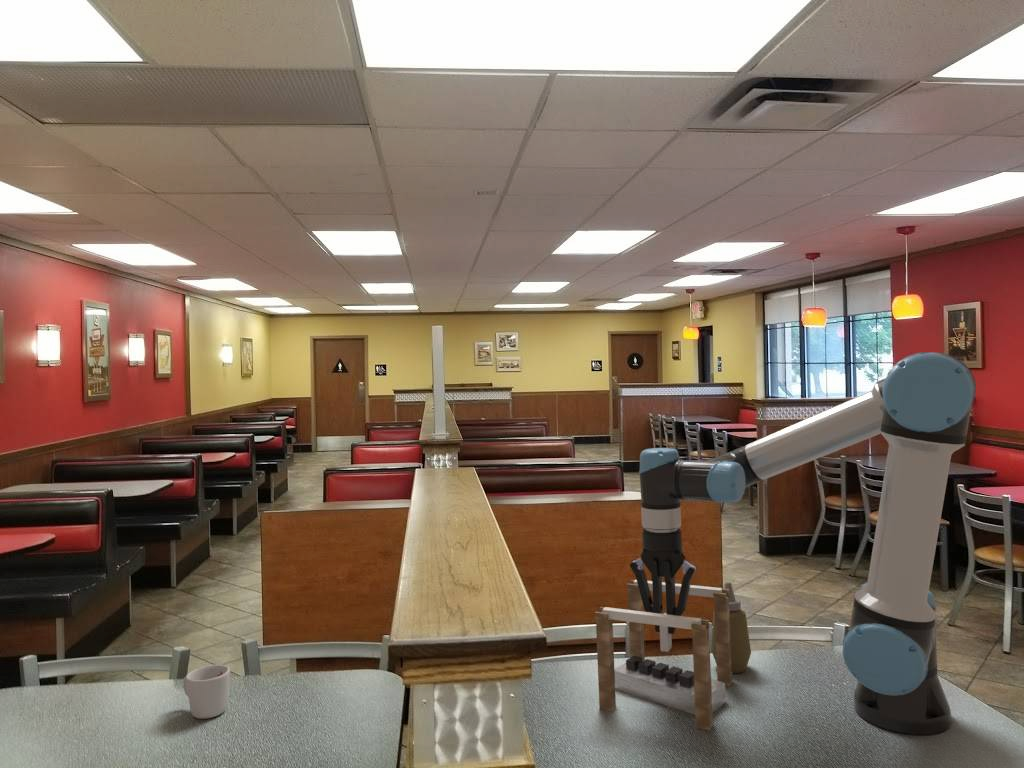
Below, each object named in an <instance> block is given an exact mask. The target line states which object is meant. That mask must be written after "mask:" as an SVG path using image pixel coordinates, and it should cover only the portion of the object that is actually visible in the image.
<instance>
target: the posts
mask: <svg viewBox="0 0 1024 768" xmlns="http://www.w3.org/2000/svg"><path fill="white" fill-rule="evenodd" d="M635 580H636V579H631V580H630V583H626V590H627V610H634V611H642V612H644V606H643V602H642V598H641V594H640V591H639V587H638V584H633V581H635ZM713 595H714V598H713V602H714V604H713V605H714V610H715V633H716V658H717V665H716V678H717V679H716V681H720V682H723V683H725V686H731V684H732V682H733V675H732V674H733V673H732V667H731V642H730V616H729V589H724V588H722V593H717V592H714V593H713ZM605 607H606V606H605ZM605 607H604V606H600V607H599V611H595V612H594V620H595V630H596V631H595V632H596V652H597V653H596V654H597V655H596V656H597V657H596V658H597V678H598V681H597V682H598V704H599V705H598V707H599V710H601V711H605V712H606V711H607V712H613V711H614V710H615V708H616V706H617V703H616V702H617V701H616V689H615V671H614V669H615V653H614V651H615V650H614V649H615V648H614V647H615V646H614V629H613V627H614V626H613V625H614V624H613V619H608V613H603V612H602V610H603V609H604V608H605ZM700 619H701V625H700V624H691V629H690V630H691V634H692V637H691V638H692V659H693V660H692V661H693V672H694V689H695V728H696V729H701V730H705V731H711V730H712V727H713V724H714V723H713V713H712V694H711V679H712V675H711V674H712V672H711V670H712V669H711V651H710V650H711V643H710V619H704V618H703V619H702V618H700ZM644 631H645V629H644V623H636V622H628V634H629V637H628V638H629V656H630V657H629V658H631V657H632V656H634V655H635V656H638V657H642V658H643V660H646V658H645V657H646V656H645V633H644Z"/></svg>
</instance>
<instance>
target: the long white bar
mask: <svg viewBox="0 0 1024 768" xmlns="http://www.w3.org/2000/svg"><path fill="white" fill-rule="evenodd" d="M602 612H603V613H608V619H612V621H613V620H614V621H622V622H628V623H629V622H636V623H643V625H644V624H646V625H653V626H655V625H660V626H667V627H675V628H676V629H683V630H684V629H685V630H691V624H700V625H701V619H702V618H701V617H699V618H698V617H691V616H682V615H681V616H675V615H667V614H663V613H662V614H659V613H650V612H646V611H643V612H642V611H634V610H628V609H623V608H617V607H616V608H615V607H607V606H605V608H604V609H603V610H602Z"/></svg>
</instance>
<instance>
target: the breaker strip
mask: <svg viewBox="0 0 1024 768" xmlns="http://www.w3.org/2000/svg"><path fill="white" fill-rule="evenodd" d="M614 671H615V690H618V691H621V692H625V693H628V694H630V695H633V696H637V697H640V698H641V699H646V700H649V701H652V702H654V703H656V704H657V703H658V704H661V705H663V706H664V705H665V706H667V707H669V708H673V709H676V710H679V711H682V712H685V713H688V714H691V715H695V689H694V671H691V670H685V671H684V670H683V668H681V667H677V666H675V665H674V666H671V667H670V666H669V664H666V663H662V662H658V663H656V661H655V660H652V659H649V658H645V660H643V658H642V657H638V656H635V655H634V656H632V657H631V658H630V657H629V658H627V659H626V660H625V662H624V663H623V664H621V665H620V666H617V668H614ZM711 694H712V714H713V713H714V712H715V711H717V710H719V708H721V706H723V705H724V704H726V702H727V701H726V700H727V699H726V685H725V683H723V682H720V681H717V679H716V680H715V679H713V678H711ZM695 716H696V715H695Z"/></svg>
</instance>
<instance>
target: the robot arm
mask: <svg viewBox="0 0 1024 768" xmlns="http://www.w3.org/2000/svg"><path fill="white" fill-rule="evenodd" d="M976 390H977V385H976V380H975V377H974V375H973V373H972V371H971V369H970V368H969V367H968V366H967V365H966V364H965V363H964V362H963V361H961V360H960V359H958V358H957V357H954V356H953V355H949V354H945V353H941V352H940V353H939V352H935V351H932V352H928V351H927V352H916V353H914V354H911V355H907V356H906V357H904V358H902V359H901V360H899V361H897V363H896V364H895V365H893V366H892V368H891V369H890V371H889V372H888V373H887V375H886V377H885V378H883V379H881V380H879V381H876V382H875V383H874V385H873V388H872V390H869V391H867V392H865V393H863V394H860V395H858V396H855V397H853V398H850V399H848V400H847V401H845V402H842V403H839V404H838V405H835V406H833V407H831V408H828V409H826V410H824V411H822V412H819V413H817V414H814V415H812V416H810V417H808V418H805V419H802V420H800V421H799V422H796V423H794V424H792V425H789V426H787V427H785V428H782V429H780V430H778V431H775V432H773V433H770V434H769V435H766V436H764V437H761V438H759V439H757V440H755V441H752V442H750V443H748V444H746V445H744V446H740V447H738V448H736V449H733V450H732V451H729V452H727V453H724V454H722V455H719V456H716V457H714V458H710V459H708V460H694V459H693V460H691V459H689V460H688V459H683V458H681V459H680V455H679V451H678V450H677V449H676V448H669V447H655V448H654V447H653V448H652V447H651V448H646V449H644V450H642V451H641V452H640V455H639V471H638V474H639V485H640V501H641V502H640V503H641V504H640V506H641V508H640V510H641V513H640V514H641V515H640V516H641V526H642V528H643V529H642V531H641V533H642V534H641V541H642V551H641V554H640V557H639V558H637V559H634V560H633V561H631V562H630V564H629V567H630V569H631V570H632V572H633V574H634V575H635V578H636V579H635V580H637V583H638V587H639V591H640V594H641V598H642V602H643V610H644V612H650V613H659V614H667V615H675V616H682V615H683V614H684V612H685V611H686V607H687V602H688V597H689V595H688V593H689V589H690V585H691V584H692V578H693V576H694V575H695V572H696V571H697V570H698V567H697V565H696V564H692V563H690V562H688V561H687V560H686V557H685V555H684V552H683V542H682V541H683V536H682V530H681V528H680V527H681V526H682V515H681V514H682V513H681V510H682V508H681V500H682V501H683V500H687V501H688V500H689V501H690V500H691V501H701V502H712V503H718V504H724V503H730V504H731V503H733V504H735V503H738V502H740V501H741V500H742V498H743V496H744V494H745V491H746V488H748V487H749V486H752V485H755V484H757V483H759V482H762V481H764V480H766V479H769V478H772V477H775V476H777V475H779V474H782V473H784V472H786V471H790V470H793V469H794V468H798V467H799V466H802V465H805V464H807V463H809V462H812V461H814V460H818V459H819V458H822V457H825V456H828V455H830V454H833V453H835V452H837V451H840V450H843V449H845V448H848V447H850V446H854V445H856V444H858V443H861V442H863V441H866V440H868V439H870V438H873V437H876V436H879V435H880V434H881V436H883V438H884V439H885V440H886V442H887V443H888V449H887V450H888V451H887V456H886V463H885V469H884V475H883V482H882V488H881V494H880V499H879V507H878V511H877V512H878V513H877V519H876V526H875V531H874V538H873V545H872V551H871V558H870V564H869V570H868V577H867V582H866V583H864V584H862V585H861V587H860V589H859V590H857V591H856V592H855V593H854V600H853V605H852V611H851V616H850V623H849V629H848V631H847V633H846V634H845V636H844V639H843V642H842V655H843V660H844V663H845V666H846V667H847V669H848V671H849V672H850V673H851V675H852V676H853V677H854V679H855V680H856V681H857V684H856V687H855V690H854V694H853V703H854V704H853V706H854V707H853V709H854V710H855V711H856V712H855V713H857V714H858V716H860V717H861V718H862V719H863V720H866V721H867V722H869V723H871V724H872V725H874V726H876V727H880V728H882V729H884V730H889V731H892V732H897V733H900V734H901V733H902V734H906V735H907V734H908V735H918V736H922V735H924V736H926V735H929V736H930V735H935V734H936V735H937V734H939V733H943V732H945V731H947V730H948V729H950V727H951V726H952V712H951V711H952V710H951V708H950V704H949V701H948V699H947V697H946V694H945V692H944V689H943V686H942V684H941V681H940V679H939V674H938V652H937V651H938V650H937V649H938V648H937V629H936V628H937V626H936V625H937V624H936V623H937V622H936V618H937V614H936V610H937V606H936V601H935V596H934V594H933V592H932V591H930V585H931V580H932V573H933V566H934V560H935V556H936V549H937V542H938V538H939V537H938V536H939V531H940V525H941V519H942V512H943V507H944V503H945V502H944V501H945V495H946V489H947V483H948V477H949V471H950V465H951V459H952V455H953V454H954V452H957V451H958V450H961V448H963V447H965V446H966V440H967V435H968V429H969V424H970V417H971V413H972V412H971V411H972V405H973V402H974V400H975V396H976ZM645 567H646V569H648V572H650V574H651V575H650V579H651V581H652V585H653V591H652V593H651V591H650V589H649V585H648V582H647V581H648V578H647V575H646V571H645ZM681 568H682V573H683V574H684V575H683V578H682V581H681V584H682V585H681V590H680V594H678V601H677V599H676V594H675V584H676V574H677V573H678V571H679V570H680V569H681ZM663 579H664V582H665V585H666V593H665V604H666V605H665V606H666V612H664V610H665V608H664V605H663V604H664V603H663V602H664V601H663V592H662V582H663ZM676 601H677V603H676ZM676 630H677V628H675V627H667V626H660V625H654V631H655V632H656V633H659V641H660V643H659V646H660V648H659V649H660V652H667V653H669V651H670V650H671V649H672V648H673V644H672V635H674V634H675V632H676Z"/></svg>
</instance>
